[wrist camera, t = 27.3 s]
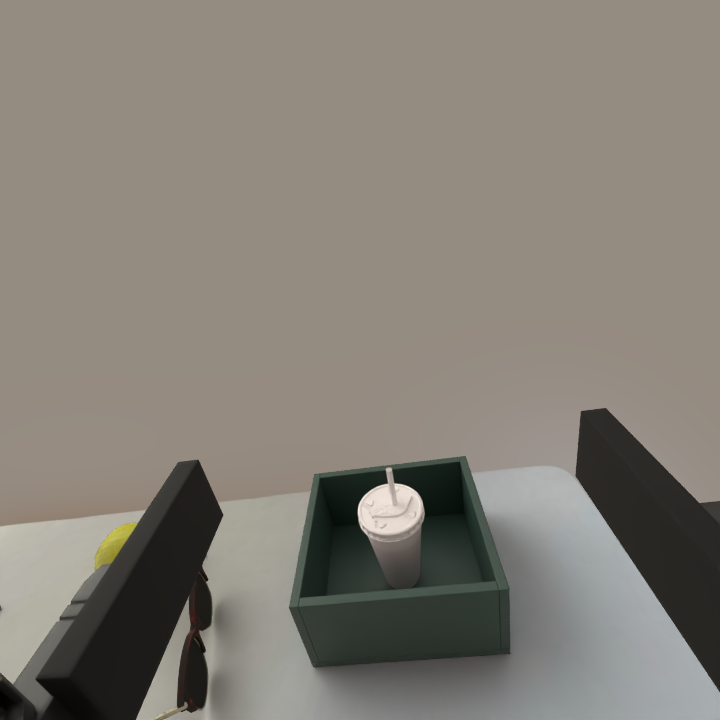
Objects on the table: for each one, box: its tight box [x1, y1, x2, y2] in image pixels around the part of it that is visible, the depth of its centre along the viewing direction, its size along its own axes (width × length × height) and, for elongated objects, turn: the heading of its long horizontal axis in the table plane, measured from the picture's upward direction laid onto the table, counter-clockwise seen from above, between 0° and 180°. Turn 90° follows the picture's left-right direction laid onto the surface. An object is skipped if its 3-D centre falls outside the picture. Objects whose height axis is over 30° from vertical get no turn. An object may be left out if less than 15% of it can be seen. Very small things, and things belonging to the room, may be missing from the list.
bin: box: [289, 456, 510, 667], centre depth 40 cm, size 18×16×9 cm
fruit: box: [94, 523, 207, 571], centre depth 47 cm, size 7×7×12 cm
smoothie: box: [358, 468, 425, 589], centre depth 38 cm, size 6×6×14 cm
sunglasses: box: [153, 566, 213, 720], centre depth 36 cm, size 14×16×5 cm
